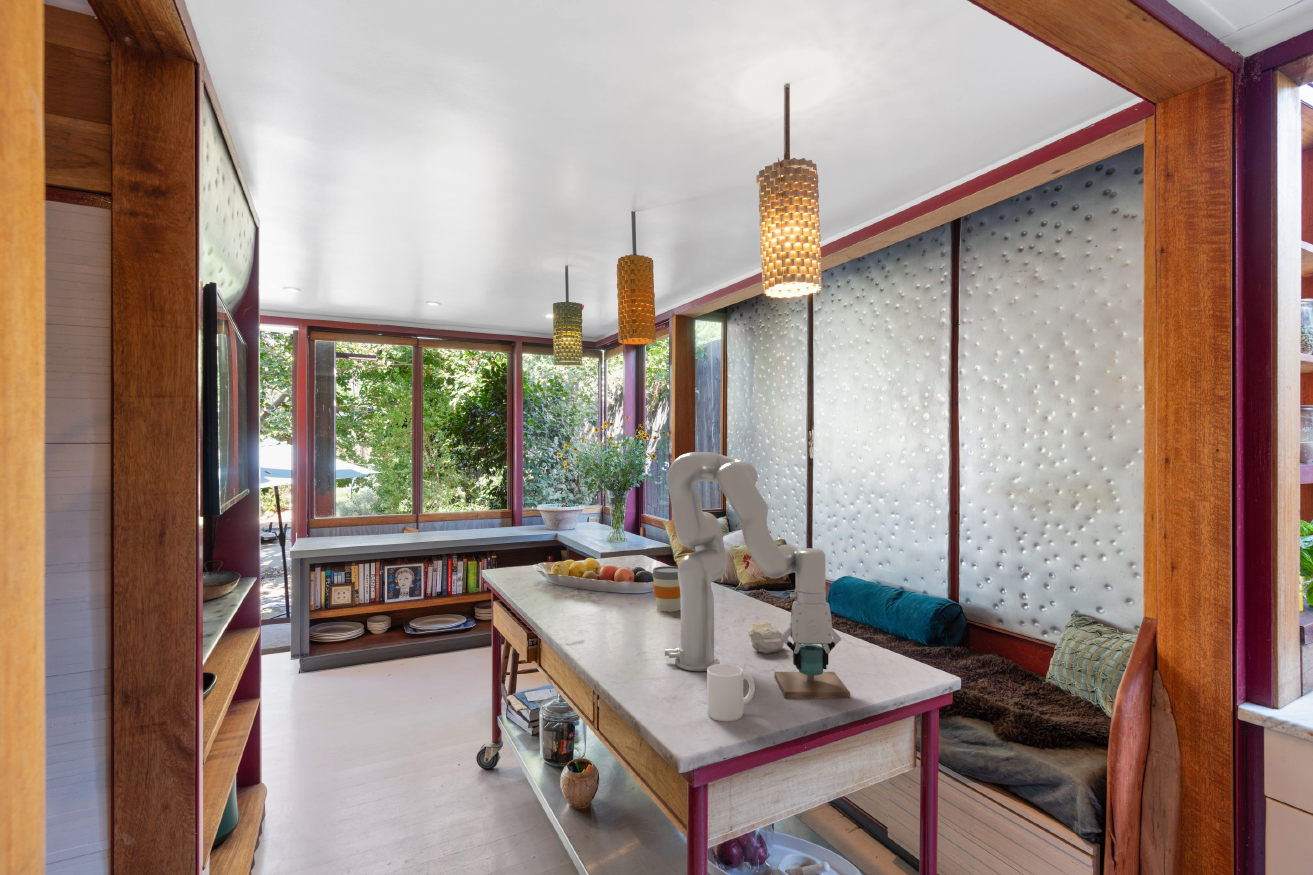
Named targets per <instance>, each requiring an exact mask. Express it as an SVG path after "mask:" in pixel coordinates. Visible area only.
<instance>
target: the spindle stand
mask: <svg viewBox="0 0 1313 875" xmlns="http://www.w3.org/2000/svg"><path fill="white" fill-rule="evenodd" d="M773 673H774V679H775V681H776V683H777V686H778V687H779V689H780V691H781V693H782V695H783V697H784V699H851V691H850V690H849V689H848V688H847V686H846V685H845V684H844V682H843V681H842V680H841V679H840V677H839V676H838V675H837V673H836V672H835V671H823V673H822V674H821V675H805V674H802V673H800V672H799V671H774V672H773Z"/></svg>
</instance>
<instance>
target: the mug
mask: <svg viewBox="0 0 1313 875" xmlns="http://www.w3.org/2000/svg"><path fill="white" fill-rule="evenodd" d="M706 672H707V673H706V676H707V677H706V681H707V682H706V685H707V687H706V689H707V691H706V692H707V693H706V704H707V705H706V708H707V710H706V711H707V712H706V713H707V715H708V716H709V717H710V718H711V719H713V720H715V721H718V722H723V723H724V722H725V723H726V722H728V723H729V722H735V721H738V720H740V719H741V718H742V717H743V715H744V705H746V704H748V703H749V702H751V700H752V699H753V697H754V694H755V688H756V686H755V680H754V679H753V677H752V676H751V674H749V673H747V672H744V669H743V668H742V667H740V666H738V665H736V664H731V663H720V664H716V665H712V666H710V667H708V669H707V671H706ZM744 680H746V681H747V683H748V686H749V688H748V692H747V694H746V695H745V697H744Z"/></svg>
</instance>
